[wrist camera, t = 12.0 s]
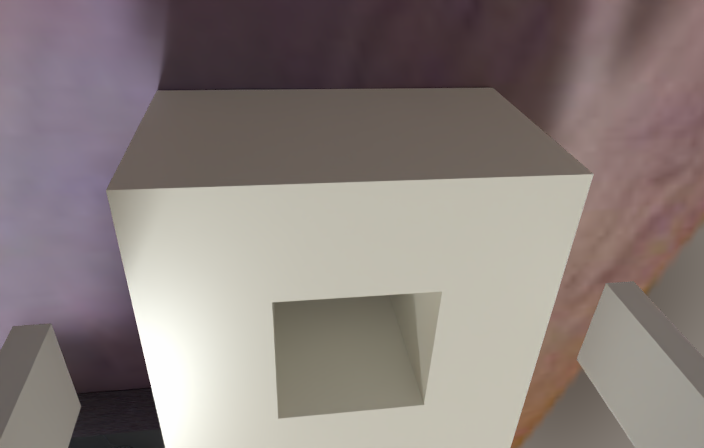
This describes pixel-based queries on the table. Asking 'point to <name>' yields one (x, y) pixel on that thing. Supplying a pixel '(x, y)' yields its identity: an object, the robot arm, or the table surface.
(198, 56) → the table surface
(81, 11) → the table surface
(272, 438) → the collar
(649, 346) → the robot arm
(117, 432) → the vise
